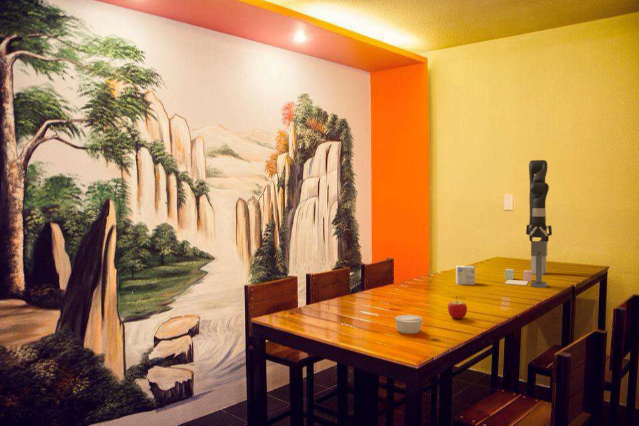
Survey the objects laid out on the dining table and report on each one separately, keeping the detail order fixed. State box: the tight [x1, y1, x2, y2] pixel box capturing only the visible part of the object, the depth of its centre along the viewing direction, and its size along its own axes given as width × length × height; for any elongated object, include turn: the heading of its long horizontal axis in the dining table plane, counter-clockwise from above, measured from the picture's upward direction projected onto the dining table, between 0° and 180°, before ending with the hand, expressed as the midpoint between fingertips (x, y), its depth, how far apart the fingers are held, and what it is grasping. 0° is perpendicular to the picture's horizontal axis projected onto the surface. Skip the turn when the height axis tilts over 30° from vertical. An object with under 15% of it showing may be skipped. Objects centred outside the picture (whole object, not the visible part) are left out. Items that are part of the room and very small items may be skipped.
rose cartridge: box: [522, 269, 533, 282], centre depth 311 cm, size 4×4×6 cm
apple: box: [447, 295, 468, 320], centre depth 226 cm, size 8×8×10 cm
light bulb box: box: [455, 265, 476, 286], centre depth 304 cm, size 11×7×11 cm, turn 84°
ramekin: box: [394, 314, 423, 335], centre depth 208 cm, size 11×11×5 cm
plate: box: [504, 279, 530, 286], centre depth 305 cm, size 12×12×1 cm
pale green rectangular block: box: [504, 268, 515, 280], centre depth 317 cm, size 4×4×6 cm
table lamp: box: [530, 240, 548, 289], centre depth 293 cm, size 10×8×26 cm
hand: (538, 242), depth 306 cm, fingers open, 8 cm apart
